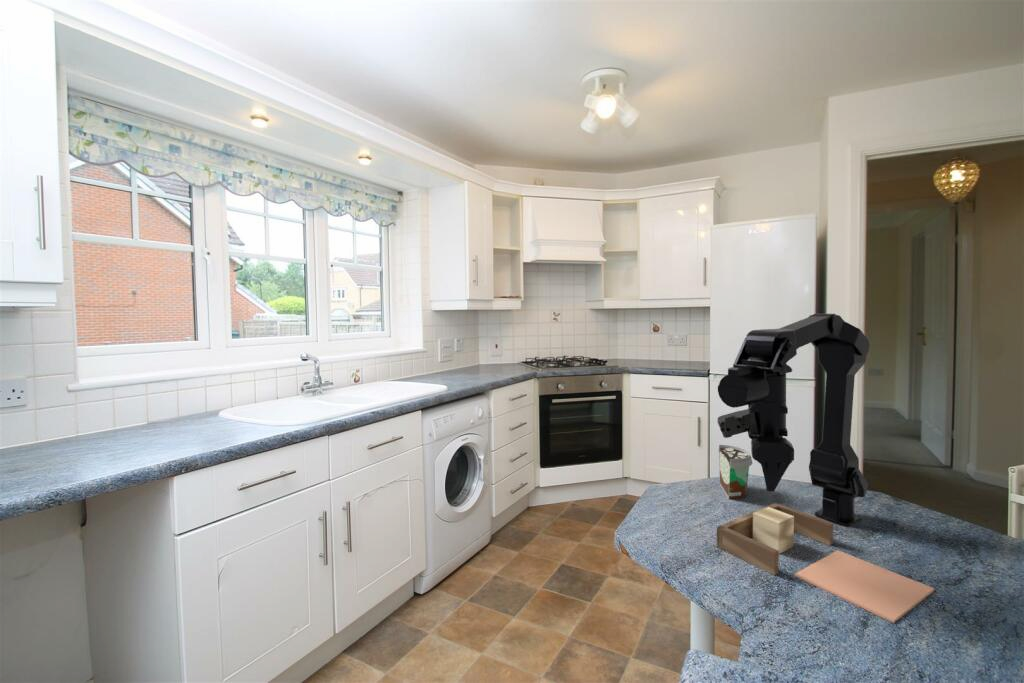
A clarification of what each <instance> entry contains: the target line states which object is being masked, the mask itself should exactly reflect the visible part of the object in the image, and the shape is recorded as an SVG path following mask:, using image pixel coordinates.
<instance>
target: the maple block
mask: <svg viewBox="0 0 1024 683" xmlns="http://www.w3.org/2000/svg"><path fill="white" fill-rule="evenodd" d="M766 507H767V506H766ZM763 508H764V507H763ZM761 509H762V508H761ZM759 510H760V509H759ZM756 511H757V510H756ZM754 512H755V511H754ZM794 533H795V532H794V516H792V515H789V514H786V513H784V512H781V511H778V510H775V509H773V508H770V507H767V508H764V509H762V510H760V511H757V512H755V513H753V536H752V539H753V540H756V541H758V542H760V543H762V544H765V545H767V546H769V547H771V548H774V549H776V550H778V551H779V555H780V554H781V553H784V552H785V551H788V550H789V549H792V548H793V547H794V541H795V540H794V539H795V537H794V535H795V534H794Z"/></svg>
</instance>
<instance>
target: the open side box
mask: <svg viewBox="0 0 1024 683" xmlns="http://www.w3.org/2000/svg"><path fill="white" fill-rule="evenodd" d="M767 507H770V508H773V509H775V510H778V511H781V512H784V513H786V514H789V515H792V516H794V533H797V534H799V535H803V536H804V537H808V538H810V539H811V540H815V541H818V542H820V543H822V544H825V545H828V546H831V545H834V527H835V526H834V525H835V522H834V523H833V522H832V521H829V520H828V521H827V520H826V519H823V518H821V517H818V516H814V515H811V514H808V513H805V512H803V511H800V510H797V509H794V508H791V507H788V506H785V505H784V504H780V503H777V502H774V503H772V504H769V505H767V506H764V507H763V508H760V509H757V510H755V511H753V512H749V513H748V514H745V515H742V516H740V517H738V518H735V519H732V520H731V521H728V522H726V523H723V524H720V525H718V526H717V527H716V548H718V547H719V548H718V549H720V548H721V549H720V550H722V549H723V550H722V551H724V550H725V551H724V552H726V551H727V552H726V553H728V554H730V553H731V554H730V555H732V556H734V557H736V558H738V559H741V560H742V561H744V562H747V563H748V564H750V565H753V566H755V567H757V568H759V569H761V570H763V571H765V572H766V573H769V574H771V575H773V576H776V575H777V574H779V566H780V565H779V564H780V563H779V562H780V561H779V555H780V554H779V551H778V550H776V549H774V548H771V547H769V546H767V545H765V544H762V543H760V542H758V541H756V540H753V513H755V512H757V511H760V510H762V509H764V508H767Z"/></svg>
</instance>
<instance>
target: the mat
mask: <svg viewBox="0 0 1024 683" xmlns="http://www.w3.org/2000/svg"><path fill="white" fill-rule="evenodd" d="M794 577H796V578H798V579H800V580H802V581H804V582H806V583H808V584H811V585H813V586H815V587H817V588H819V589H821V590H823V591H825V592H827V593H828V594H829V593H830V594H832V595H834V596H836V597H838V598H840V599H842V600H844V601H847V602H848V603H851V604H852V605H855V606H858V607H859V608H861V609H864V610H865V611H868V612H870V613H871V614H873V615H876V616H878V617H880V618H883V619H884V620H886V621H889V622H891V623H893V624H895V623H896V621H898V620H900V619H901V618H902V617H903V616H905V615H906V614H907V613H908V612H909V611H911V610H912V609H913V608H914V607H916V606H917V605H918V604H919V603H921V602H923V600H925V599H926V598H927V597H928V596H929V595H931V594H932V593H933V592H934V591H935V588H934V587H931V586H929V585H928V584H927V585H926V584H924V583H921V582H919V581H916V580H914V579H912V578H908V577H907V576H903V575H901V574H898V573H896V572H894V571H891V570H888V569H886V568H883V567H881V566H879V565H876V564H875V563H874V564H873V563H871V562H868V561H866V560H864V559H860V558H858V557H855V556H853V555H851V554H848V553H846V552H843V551H841V550H838V549H837V550H835V551H833V552H831V553H830V554H828V555H826V556H824V557H823V558H821V559H818V560H817V561H815V562H814V563H812V564H810V565H808V566H807V567H804V568H803V569H801V570H799V571H798V572H796V573H794Z"/></svg>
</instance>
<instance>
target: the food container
mask: <svg viewBox="0 0 1024 683" xmlns="http://www.w3.org/2000/svg"><path fill="white" fill-rule="evenodd" d="M718 459H719V460H718V461H719V462H718V465H719V469H718V470H719V473H718V474H719V485H720V487H721V489H722V491H723V492H724V493H725V495H726V497H727V498H728V500H740V499H743V498H745V497H746V496H747V492H748V481H749V474H750V473H749V470H750V466H752V465H753V457H752V455H751V453H750V451H748V450H746V449H744V448H741V447H739V446H735V445H734V446H733V445H726V444H718Z"/></svg>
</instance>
